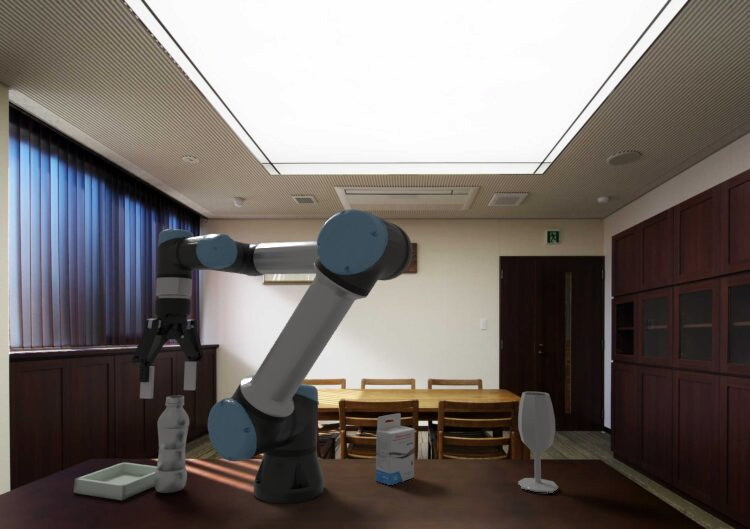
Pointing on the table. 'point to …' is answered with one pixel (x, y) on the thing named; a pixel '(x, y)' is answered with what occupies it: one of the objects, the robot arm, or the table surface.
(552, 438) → the wineglass
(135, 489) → the tray
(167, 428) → the plastic bottle
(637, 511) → the table surface
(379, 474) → the ink box
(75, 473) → the table surface
